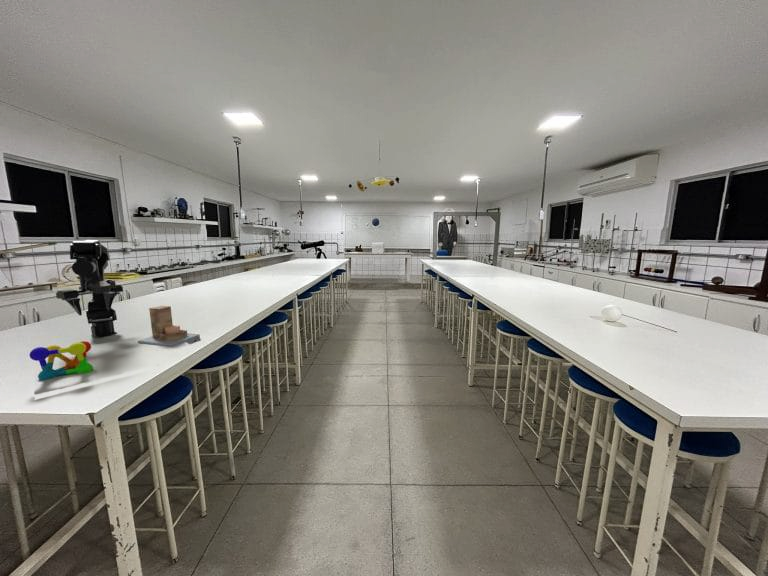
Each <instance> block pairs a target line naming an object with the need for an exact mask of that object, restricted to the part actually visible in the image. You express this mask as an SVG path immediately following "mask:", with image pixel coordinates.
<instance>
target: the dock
mask: <svg viewBox="0 0 768 576" xmlns="http://www.w3.org/2000/svg"><path fill="white" fill-rule="evenodd" d="M197 339H198V340H200V339H201V335H200V334H199V333H188V332H187V336H186V337H183V338H180V339H177V340H174V341H165V340H160V339H156V338H153V335H151V336H148V337H145V338H142V339H138V340H137V344H144V345H154V346H162V347H163V346H164V347H175V346H177V345H180V344H182V343H186V344H190V343H193V342H195V341H194V340H196V341H198V340H197ZM192 341H193V342H192ZM189 342H190V343H189Z"/></svg>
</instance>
